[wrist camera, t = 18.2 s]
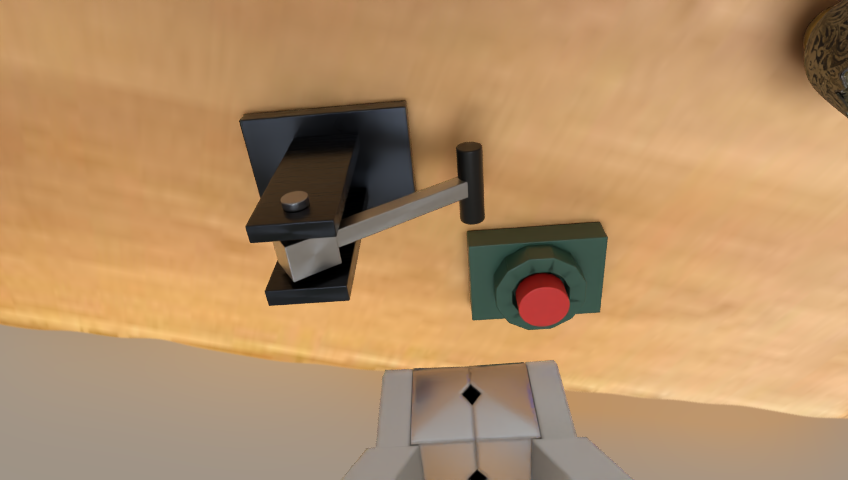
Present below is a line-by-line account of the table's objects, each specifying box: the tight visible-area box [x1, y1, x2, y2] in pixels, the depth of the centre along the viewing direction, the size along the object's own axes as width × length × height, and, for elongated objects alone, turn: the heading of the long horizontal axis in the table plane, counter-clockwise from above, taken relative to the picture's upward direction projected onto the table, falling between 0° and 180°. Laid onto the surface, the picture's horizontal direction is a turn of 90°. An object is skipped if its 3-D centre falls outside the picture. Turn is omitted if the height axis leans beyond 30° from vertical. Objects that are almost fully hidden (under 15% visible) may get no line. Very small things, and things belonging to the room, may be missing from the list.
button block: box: [467, 222, 608, 330], centre depth 42 cm, size 10×7×4 cm
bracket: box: [239, 101, 416, 306], centre depth 34 cm, size 11×8×13 cm
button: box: [516, 273, 570, 326], centre depth 40 cm, size 4×4×2 cm
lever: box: [273, 142, 485, 282], centre depth 32 cm, size 13×5×2 cm
